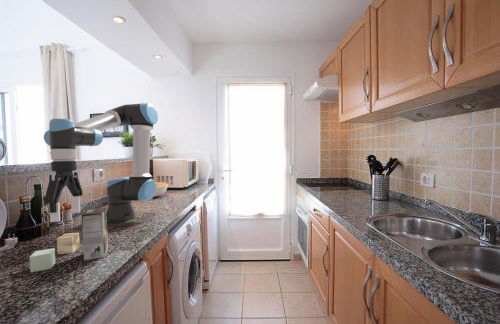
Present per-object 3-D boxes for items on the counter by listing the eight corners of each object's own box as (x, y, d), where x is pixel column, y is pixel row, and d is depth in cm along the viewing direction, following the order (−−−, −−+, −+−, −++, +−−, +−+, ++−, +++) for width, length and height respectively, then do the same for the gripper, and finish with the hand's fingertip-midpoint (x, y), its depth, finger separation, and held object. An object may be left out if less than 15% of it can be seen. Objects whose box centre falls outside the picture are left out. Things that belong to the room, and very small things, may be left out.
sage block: (36, 265, 79) (35, 251, 79) (55, 262, 81) (54, 248, 81) (30, 272, 74) (29, 256, 74) (50, 268, 77) (49, 253, 76)
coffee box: (89, 251, 90) (86, 208, 89) (108, 247, 92) (106, 206, 92) (83, 260, 82) (80, 214, 81) (105, 257, 84) (102, 212, 83)
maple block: (65, 249, 93) (64, 233, 92) (79, 247, 94) (79, 232, 93) (57, 254, 88) (56, 238, 87) (72, 252, 89) (72, 237, 88)
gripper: (70, 160, 101) (73, 209, 101) (28, 161, 76) (31, 227, 77) (90, 159, 102) (92, 208, 103) (54, 160, 78) (57, 225, 78)
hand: (66, 216), depth 90 cm, fingers open, 13 cm apart
